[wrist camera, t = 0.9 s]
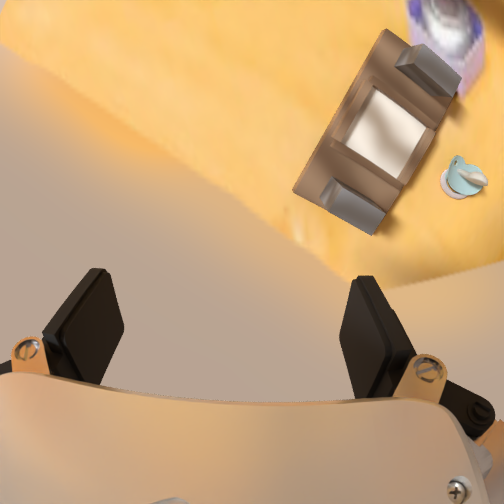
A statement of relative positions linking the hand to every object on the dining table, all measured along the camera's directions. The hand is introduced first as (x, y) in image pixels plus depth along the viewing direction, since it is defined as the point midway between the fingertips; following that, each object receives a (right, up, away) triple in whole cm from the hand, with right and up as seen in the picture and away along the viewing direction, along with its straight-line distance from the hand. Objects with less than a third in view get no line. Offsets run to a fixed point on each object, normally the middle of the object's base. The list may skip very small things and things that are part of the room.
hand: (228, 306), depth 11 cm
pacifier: (+30, +13, +24) cm, 40 cm away
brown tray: (+16, +17, +21) cm, 32 cm away
